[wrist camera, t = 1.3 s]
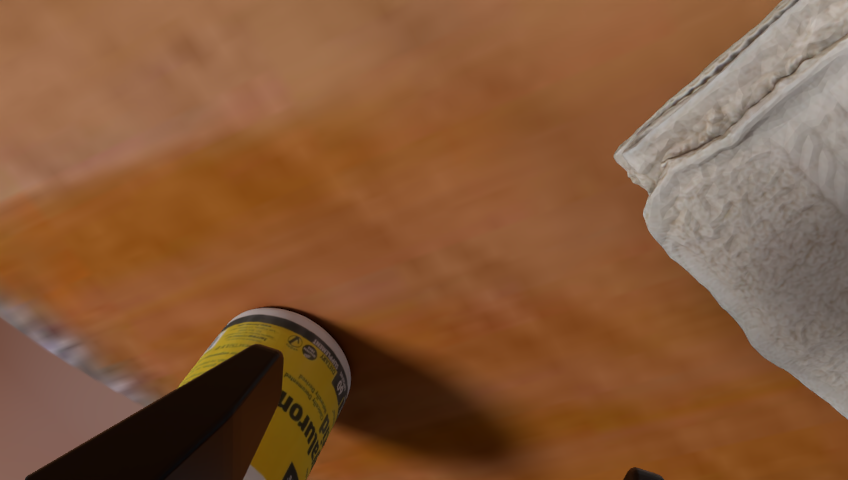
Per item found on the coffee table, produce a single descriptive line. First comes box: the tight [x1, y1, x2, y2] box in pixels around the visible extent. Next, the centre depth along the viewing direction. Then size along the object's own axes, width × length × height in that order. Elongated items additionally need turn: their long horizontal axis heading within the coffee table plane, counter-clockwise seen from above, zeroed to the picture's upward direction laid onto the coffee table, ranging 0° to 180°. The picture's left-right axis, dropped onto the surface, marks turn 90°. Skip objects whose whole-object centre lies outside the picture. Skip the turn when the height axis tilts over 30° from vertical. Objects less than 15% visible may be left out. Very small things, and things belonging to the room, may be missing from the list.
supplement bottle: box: [178, 308, 351, 480], centre depth 24 cm, size 5×5×10 cm
